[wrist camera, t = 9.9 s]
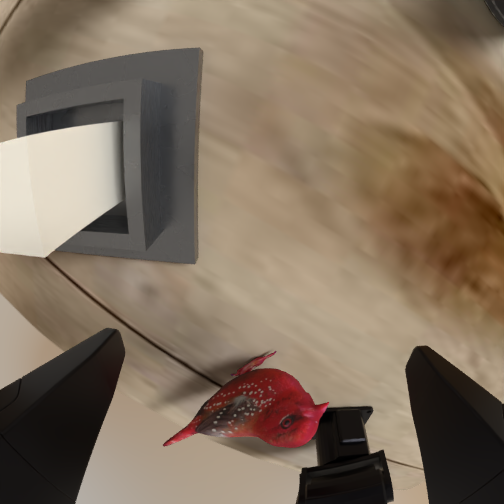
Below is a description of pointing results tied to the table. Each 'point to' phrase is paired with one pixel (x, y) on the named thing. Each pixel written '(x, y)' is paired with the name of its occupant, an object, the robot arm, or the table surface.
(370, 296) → the table surface
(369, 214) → the table surface
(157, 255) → the square socket
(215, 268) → the table surface
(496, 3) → the pill bottle
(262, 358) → the decorative bird figurine
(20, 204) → the square peg
